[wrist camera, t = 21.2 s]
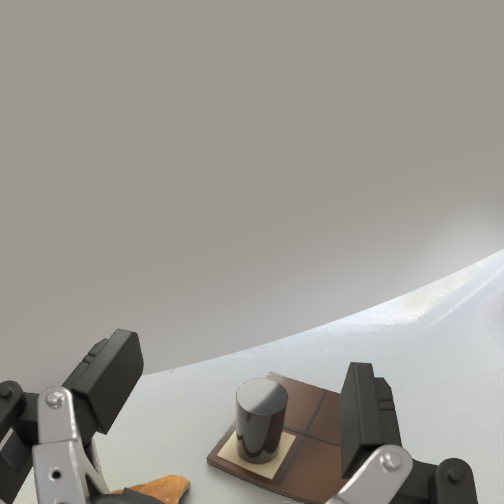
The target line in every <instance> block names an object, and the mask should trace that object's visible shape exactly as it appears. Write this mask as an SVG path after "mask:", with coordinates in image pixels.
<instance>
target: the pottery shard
mask: <svg viewBox="0 0 504 504" xmlns="http://www.w3.org/2000/svg"><path fill="white" fill-rule="evenodd" d="M189 488H190V481H189V480H187V479H186V478H184V477H183V476H176V475H169V476H166V477H163V478H160V479H158V480H155V481H152V482H149V483H146V484H142V485H137V486H133V487H130V488H128V489H131V490H134V491H137V492H140V493H143V494H146V495H149V496H152V497H155V498H157V499H158V500H160V501H162V502H164V503H166V504H178V503H179V499H180V498H181V496H182V495H183V494H184V492H186V490H187V489H189ZM123 490H124V489H123ZM123 490H117V491H113V492H111V493H119V494H122V493H123ZM111 493H110V494H111Z"/></svg>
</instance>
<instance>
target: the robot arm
mask: <svg viewBox="0 0 504 504" xmlns="http://www.w3.org/2000/svg"><path fill="white" fill-rule="evenodd" d="M143 366H144V362H143V357H142V353H141V348H140V343H139V338H138V335H137V333H136V332H131V331H127V330H123V329H117V330H116V331H115V332H114V333H113V335H112V336H111V337H110V338H109V339H106V338H105V339H103V340H102V341H100V342H98V343H97V344H95V345H94V346H93V347H92V349H91V350H90V351H89V352H88V355H86V356H85V357H84V358H83V360H82V362H80V363H79V365H78V366H77V367H76V368H75V370H74V371H73V372H72V373H71V375H70V376H69V377H68V379H67V380H66V381H65V382H64V383H63V385H62V386H52V387H49V388H47V389H45V390H44V391H42V392H41V394H34V393H26V392H23V390H22V388H21V386H20V385H19V384H18V383H17V382H15V381H5V382H2V383H0V443H1V441H2V440H3V438H4V437H5V435H6V434H7V432H8V431H9V429H10V428H12V429H13V433H12V435H11V436H10V437H9V439H8V440H7V442H6V444H5V445H4V447H3V448H2V450H1V451H0V504H12V503H13V501H14V500H15V498H16V496H17V494H18V492H19V490H20V488H21V486H22V485H23V483H24V481H25V479H26V477H27V476H28V474H29V472H30V470H31V468H32V467H33V468H34V477H35V486H36V493H37V500H38V504H166V503H164V502H162V501H160V500H158V499H157V498H155V497H152V496H149V495H146V494H143V493H140V492H137V491H134V490H131V489H128V488H126V487H125V488H124V490H123V493H122V494H119V493H111V494H110V491H109V489H108V487H107V485H106V483H105V481H104V478H103V475H102V471H101V467H100V463H99V459H98V455H97V451H96V446H95V442H94V438H93V435H94V434H95V432H96V431H97V432H100V433H102V434H105V435H106V434H107V433H108V431H109V429H110V428H111V426H112V424H113V422H114V421H115V419H116V417H117V416H118V414H119V412H120V410H121V409H122V407H123V405H124V404H125V402H126V400H127V399H128V397H129V395H130V393H131V392H132V390H133V388H134V387H135V385H136V383H137V382H138V380H139V378H140V377H141V375H142V372H143ZM340 431H341V479H350V480H349V481H348V482H347V484H346V485H345V486H344V487H343V488H342V489H341V490H340V491H339V492H338V493H337V494H336V495H335V496H332V497H331V498H330V499H329V500H328V501H327V502H326V503H325V504H478V501H477V495H476V489H475V483H474V478H473V473H472V470H471V468H470V466H469V465H468V464H467V463H466V462H465V461H463V460H461V459H457V458H450V459H446V460H444V461H443V462H442V463H440V465H439V466H438V465H433V464H428V463H423V462H419V461H416V460H414V459H413V458H412V457H411V455H410V454H409V453H408V451H406V450H405V449H404V448H403V447H402V443H401V437H400V432H399V426H398V421H397V415H396V411H395V405H394V402H393V395H392V391H391V387H390V386H389V385H388V383H387V382H386V381H385V379H384V378H377V377H374V373H373V367H372V364H371V363H357V362H351V363H350V365H349V368H348V372H347V375H346V378H345V381H344V385H343V388H342V391H341V396H340Z"/></svg>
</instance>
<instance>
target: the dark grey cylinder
mask: <svg viewBox="0 0 504 504" xmlns="http://www.w3.org/2000/svg"><path fill="white" fill-rule="evenodd" d="M287 404H288V393H287V391H286V389H285V388H284V387H283V386H282V385H281V384H280V383H278V382H276V381H274V380H271V379H265V378H258V379H252V380H249V381H247V382H245V383H243V384H242V385H241V386H240V387H239V389H238V390H237V393H236V449H237V453H238V455H239V456H240V457H241V458H242V459H243V460H244V461H246V462H248V463H251V464H265V463H268V462H270V461H272V460H273V459H275V458H276V456H277V455H278V453H279V449H280V443H281V438H282V433H283V427H284V421H285V416H286V410H287Z"/></svg>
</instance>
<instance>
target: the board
mask: <svg viewBox="0 0 504 504" xmlns="http://www.w3.org/2000/svg"><path fill="white" fill-rule="evenodd" d="M266 379H271V380H274V381H276V382H278V383H280V384H281V385H282V386H283V387H284V388H285V389H286V391H287V393H288V404H287V410H286V416H285V421H284V427H283V433H282V438H281V443H280V449H279V453H278V455H277V456H276V458H275V459H273V460H272V461H270V462H268V463H265V464H251V463H248V462H246V461H244V460H243V459H242V458H241V457H240V456H239V455H238V453H237V449H236V420H235V422H234V423H233V424H232V426H231V427H230V428H229V430H228V431H227V432H226V434H225V435H224V436H223V437H222V439H221V440H220V441H219V443H218V444H217V445H216V446H215V448H214V449H213V450H212V451H211V453H210V454H209V455H208V457H207V463H209V464H211V465H213V466H215V467H217V468H219V469H221V470H223V471H225V472H228V473H230V474H232V475H234V476H236V477H239V478H241V479H243V480H246V481H248V482H250V483H253V484H255V485H257V486H260V487H262V488H265V489H268V490H270V491H273V492H275V493H278V494H281V495H284V496H286V497H289V498H292V499H295V500H298V501H301V502H304V503H307V504H325V503H326V502H327V501H328V500H329V499H330V498H331V497H332V496H335V495H336V494H337V493H338V492H339V491H340V490H341V489H342V488H343V487H344V486H345V485H346V484H347V482H348V481H349V480H350V479H341V431H340V396H341V394H339V393H336V392H332V391H329V390H326V389H322V388H319V387H316V386H312V385H309V384H306V383H303V382H300V381H297V380H293V379H290V378H287V377H284V376H281V375H278V374H275V373H273V372H270V373H269V375H268V376H267V378H266Z"/></svg>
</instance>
